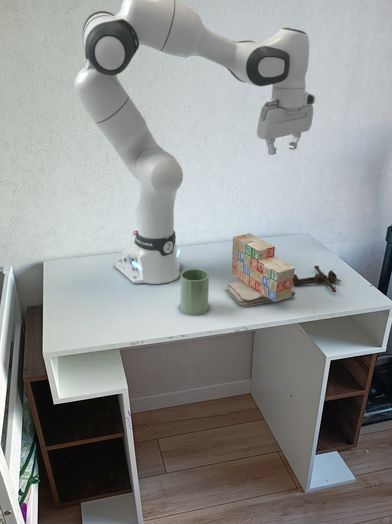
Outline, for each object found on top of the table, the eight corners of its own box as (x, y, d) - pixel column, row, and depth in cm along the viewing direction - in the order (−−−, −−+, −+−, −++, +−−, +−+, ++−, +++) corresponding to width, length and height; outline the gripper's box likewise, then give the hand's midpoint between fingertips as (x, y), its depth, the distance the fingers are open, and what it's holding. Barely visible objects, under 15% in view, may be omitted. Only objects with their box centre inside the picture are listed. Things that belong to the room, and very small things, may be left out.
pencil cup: (175, 307, 145) (174, 274, 139) (195, 298, 149) (195, 266, 144) (193, 317, 140) (193, 283, 134) (213, 308, 145) (214, 275, 139)
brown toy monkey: (285, 263, 163) (329, 257, 164) (285, 275, 166) (328, 269, 167) (303, 289, 149) (351, 282, 150) (302, 301, 151) (349, 294, 152)
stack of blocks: (291, 297, 144) (296, 257, 137) (274, 303, 141) (278, 262, 134) (247, 269, 159) (249, 232, 152) (230, 274, 156) (232, 236, 149)
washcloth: (223, 290, 154) (224, 281, 152) (275, 281, 159) (276, 272, 158) (240, 308, 145) (241, 299, 143) (295, 298, 150) (296, 289, 149)
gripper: (272, 104, 130) (267, 159, 138) (319, 96, 142) (312, 148, 149) (253, 101, 134) (250, 155, 142) (301, 93, 145) (295, 144, 153)
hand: (282, 151), depth 146 cm, fingers open, 8 cm apart
